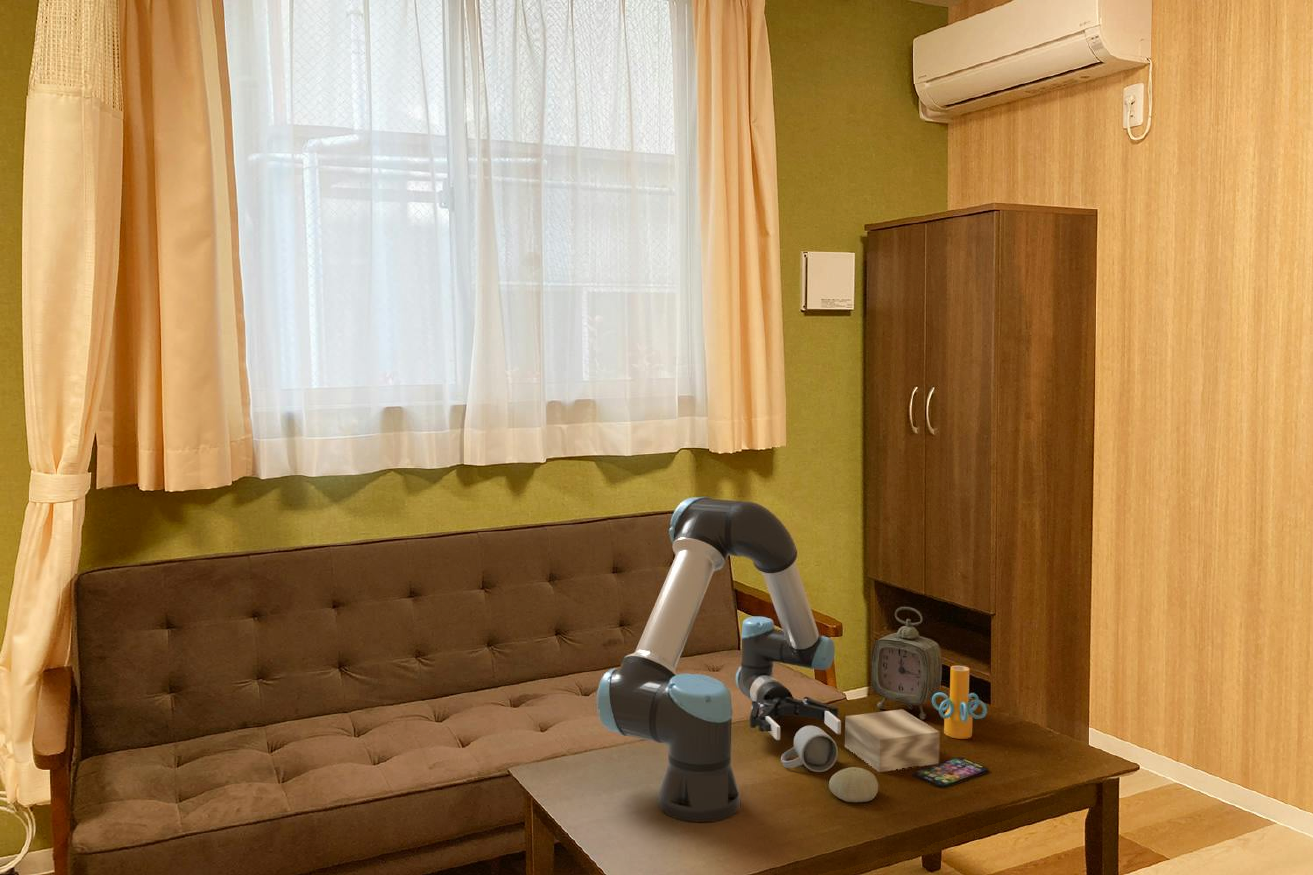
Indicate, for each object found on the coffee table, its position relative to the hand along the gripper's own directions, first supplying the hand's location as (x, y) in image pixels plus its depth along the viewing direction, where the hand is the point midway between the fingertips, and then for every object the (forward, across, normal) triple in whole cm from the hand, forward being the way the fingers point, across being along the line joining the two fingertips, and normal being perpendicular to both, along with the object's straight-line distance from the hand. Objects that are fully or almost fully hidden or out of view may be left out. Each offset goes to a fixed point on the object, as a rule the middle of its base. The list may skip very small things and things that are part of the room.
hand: (809, 730), depth 214 cm
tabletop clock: (-20, -34, -6) cm, 39 cm away
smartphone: (+14, -25, -6) cm, 29 cm away
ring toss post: (-4, -37, -6) cm, 38 cm away
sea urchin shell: (+19, -1, -6) cm, 20 cm away
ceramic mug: (+4, +2, -6) cm, 7 cm away
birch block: (+3, -17, -6) cm, 19 cm away
